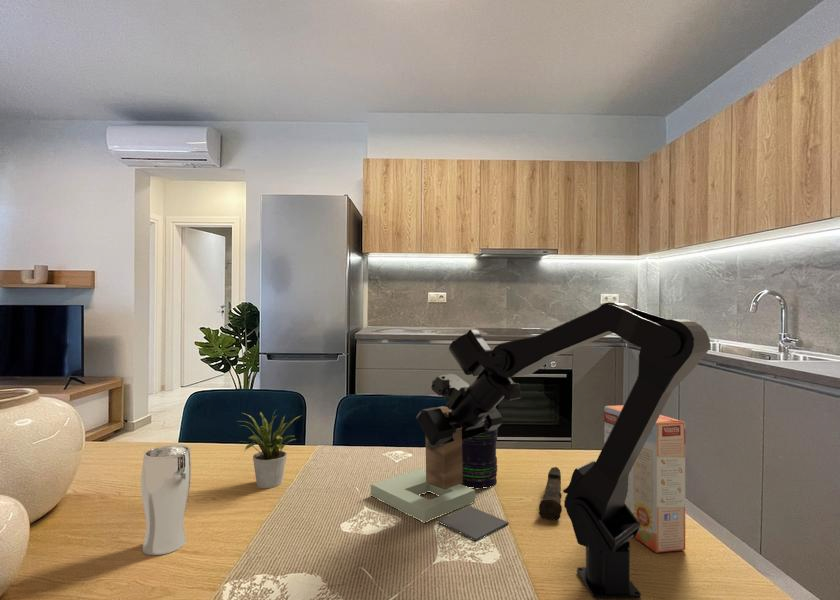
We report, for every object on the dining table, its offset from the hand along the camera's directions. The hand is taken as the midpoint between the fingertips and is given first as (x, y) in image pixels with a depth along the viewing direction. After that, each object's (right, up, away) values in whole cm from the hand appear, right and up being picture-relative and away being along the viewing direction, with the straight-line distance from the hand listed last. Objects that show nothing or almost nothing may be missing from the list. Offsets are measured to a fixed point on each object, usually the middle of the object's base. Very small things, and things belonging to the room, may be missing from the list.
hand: (439, 445), depth 87 cm
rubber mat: (+6, -12, -7) cm, 15 cm away
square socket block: (-3, -12, +3) cm, 13 cm away
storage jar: (+9, -13, +14) cm, 21 cm away
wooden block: (+1, -7, -1) cm, 7 cm away
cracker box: (+35, -12, -9) cm, 38 cm away
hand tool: (+23, -13, +4) cm, 27 cm away
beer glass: (-45, -11, -16) cm, 49 cm away
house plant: (-38, -12, +10) cm, 41 cm away
